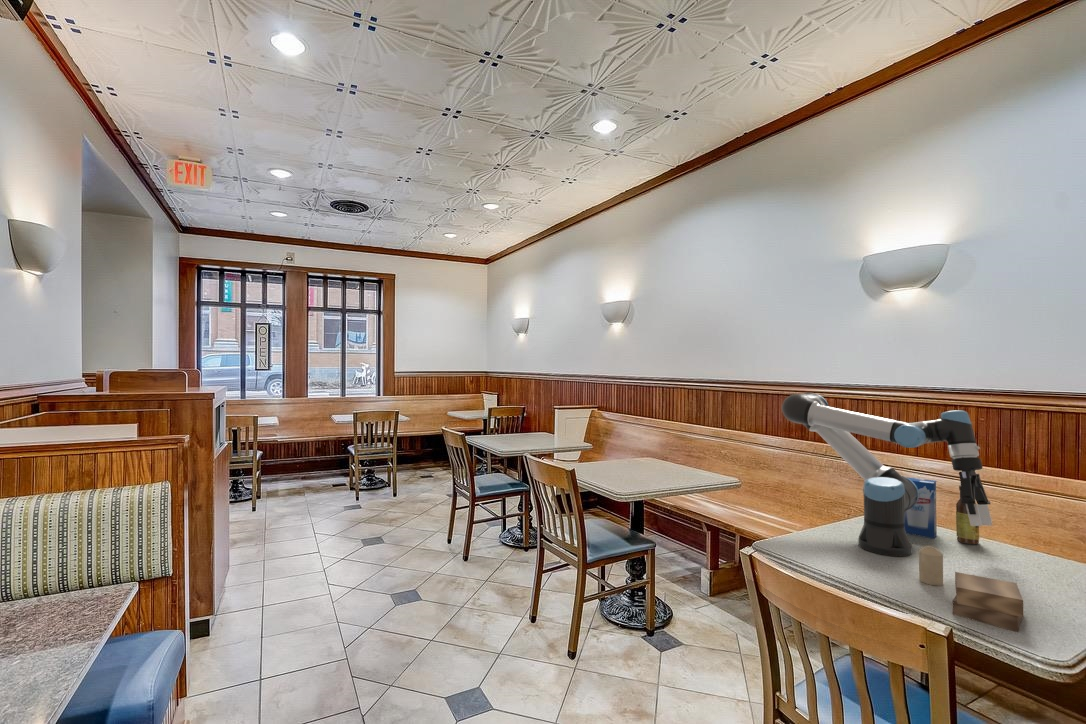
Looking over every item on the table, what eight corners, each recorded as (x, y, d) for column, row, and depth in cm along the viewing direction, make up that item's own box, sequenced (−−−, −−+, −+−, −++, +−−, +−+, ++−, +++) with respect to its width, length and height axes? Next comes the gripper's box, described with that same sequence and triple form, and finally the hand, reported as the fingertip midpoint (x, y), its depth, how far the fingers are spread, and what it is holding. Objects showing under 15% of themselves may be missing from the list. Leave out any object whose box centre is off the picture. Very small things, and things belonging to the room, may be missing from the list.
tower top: (957, 603, 126) (956, 587, 126) (955, 586, 135) (955, 571, 135) (1023, 617, 119) (1023, 600, 119) (1016, 599, 128) (1016, 583, 128)
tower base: (952, 616, 127) (952, 600, 127) (961, 602, 135) (961, 586, 135) (1018, 635, 118) (1017, 617, 118) (1023, 618, 126) (1023, 602, 126)
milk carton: (936, 534, 189) (936, 480, 190) (934, 538, 185) (933, 483, 185) (904, 528, 196) (903, 476, 197) (901, 532, 192) (900, 479, 192)
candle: (947, 586, 143) (947, 551, 144) (925, 585, 144) (925, 549, 145) (936, 578, 149) (936, 544, 149) (915, 577, 150) (914, 543, 150)
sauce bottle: (981, 546, 176) (980, 489, 177) (958, 543, 180) (957, 486, 180) (977, 541, 182) (976, 485, 182) (955, 538, 185) (954, 483, 186)
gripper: (969, 453, 157) (987, 526, 150) (989, 459, 172) (1006, 525, 165) (939, 456, 162) (956, 525, 156) (961, 461, 177) (977, 525, 171)
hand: (982, 525), depth 161 cm, fingers open, 13 cm apart
